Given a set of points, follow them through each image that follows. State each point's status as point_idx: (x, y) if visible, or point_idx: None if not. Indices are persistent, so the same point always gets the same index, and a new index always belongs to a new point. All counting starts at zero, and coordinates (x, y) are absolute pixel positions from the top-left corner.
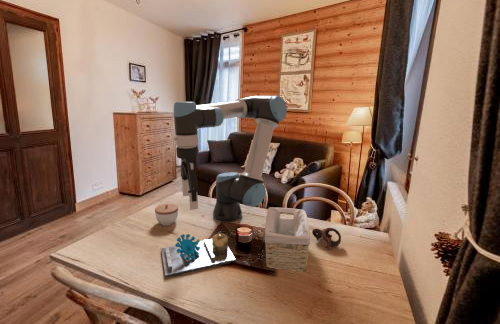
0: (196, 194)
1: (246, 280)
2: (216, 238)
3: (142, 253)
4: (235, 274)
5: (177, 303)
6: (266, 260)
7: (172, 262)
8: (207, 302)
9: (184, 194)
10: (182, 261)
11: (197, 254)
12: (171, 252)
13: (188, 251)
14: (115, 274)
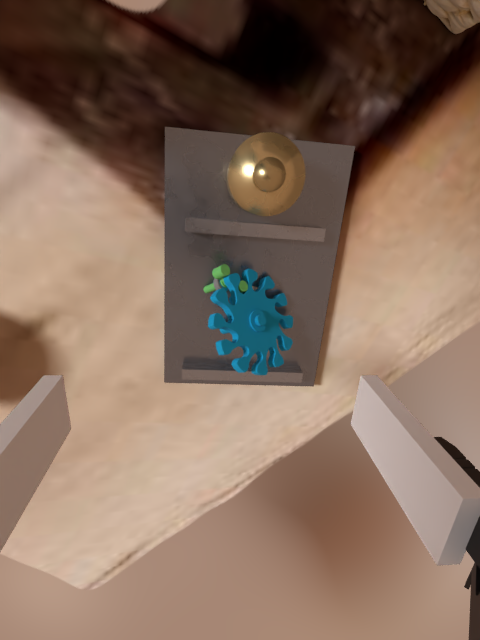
0: (456, 475)
1: (455, 159)
2: (269, 196)
3: (156, 427)
4: (409, 181)
5: (413, 366)
6: (443, 12)
7: None
8: (455, 302)
9: (63, 431)
10: None
11: (272, 283)
12: (203, 355)
13: (273, 321)
14: (232, 481)
